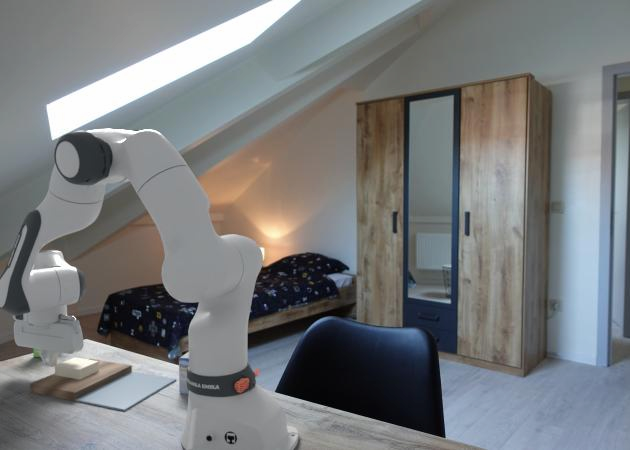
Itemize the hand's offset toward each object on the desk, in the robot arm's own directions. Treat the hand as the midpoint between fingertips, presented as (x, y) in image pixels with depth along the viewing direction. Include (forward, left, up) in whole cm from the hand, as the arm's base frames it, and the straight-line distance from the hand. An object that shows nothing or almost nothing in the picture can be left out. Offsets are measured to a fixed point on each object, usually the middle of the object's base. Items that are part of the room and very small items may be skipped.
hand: (49, 365), depth 123 cm
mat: (-25, 0, -3) cm, 25 cm away
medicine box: (-39, -7, -3) cm, 40 cm away
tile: (-9, 0, -1) cm, 9 cm away
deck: (-11, 0, -3) cm, 12 cm away
